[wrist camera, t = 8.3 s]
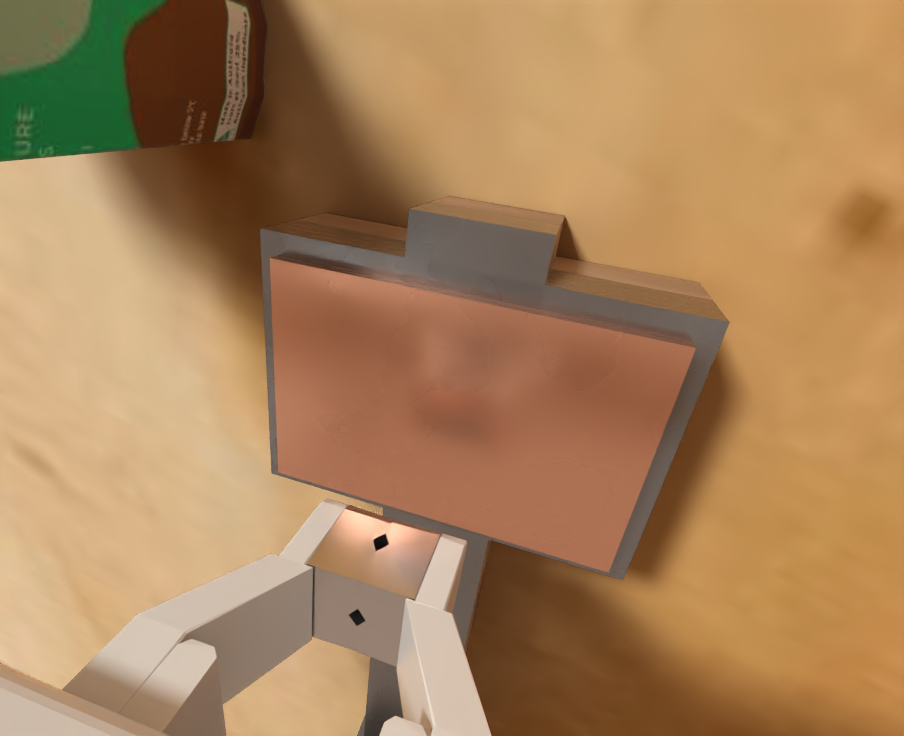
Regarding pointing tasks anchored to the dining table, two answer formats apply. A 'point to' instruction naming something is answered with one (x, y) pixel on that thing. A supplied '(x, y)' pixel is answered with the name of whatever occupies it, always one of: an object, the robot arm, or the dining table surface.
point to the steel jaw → (477, 389)
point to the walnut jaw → (557, 264)
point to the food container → (127, 74)
